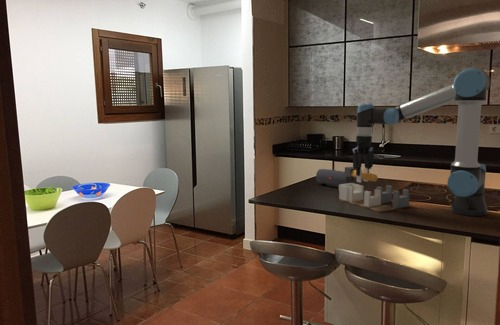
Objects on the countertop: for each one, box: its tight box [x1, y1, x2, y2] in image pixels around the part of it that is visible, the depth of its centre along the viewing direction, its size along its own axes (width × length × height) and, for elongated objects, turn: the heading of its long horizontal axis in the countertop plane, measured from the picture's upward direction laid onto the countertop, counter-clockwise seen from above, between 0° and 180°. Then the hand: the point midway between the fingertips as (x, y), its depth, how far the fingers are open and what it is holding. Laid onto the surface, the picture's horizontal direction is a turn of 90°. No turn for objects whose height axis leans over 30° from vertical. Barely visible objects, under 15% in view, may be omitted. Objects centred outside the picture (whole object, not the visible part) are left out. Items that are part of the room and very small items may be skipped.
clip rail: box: [337, 198, 396, 214], centre depth 211 cm, size 30×10×1 cm, turn 29°
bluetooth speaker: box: [315, 168, 355, 189], centre depth 257 cm, size 23×9×10 cm, turn 42°
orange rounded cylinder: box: [344, 166, 379, 182], centre depth 212 cm, size 20×4×4 cm, turn 29°
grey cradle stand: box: [375, 184, 411, 209], centre depth 211 cm, size 14×8×8 cm, turn 29°
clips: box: [338, 182, 381, 207], centre depth 214 cm, size 22×9×7 cm, turn 29°
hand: (362, 181), depth 212 cm, fingers closed on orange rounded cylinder, 4 cm apart
